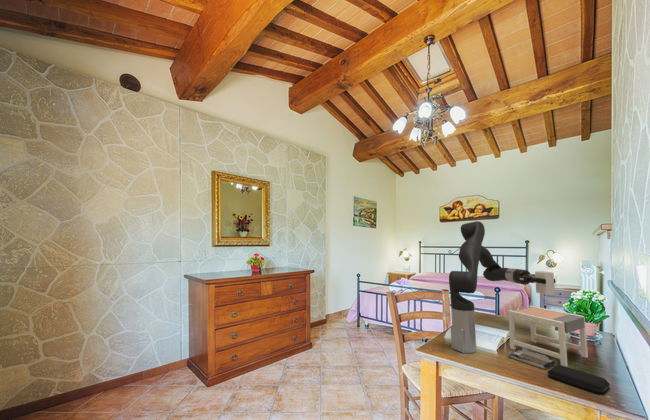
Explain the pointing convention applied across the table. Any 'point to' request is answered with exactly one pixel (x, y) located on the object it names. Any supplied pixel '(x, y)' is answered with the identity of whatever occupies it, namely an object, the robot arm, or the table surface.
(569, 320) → the trapdoor
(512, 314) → the trapdoor stand
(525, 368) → the table surface
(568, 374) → the carrying case or bag
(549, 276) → the plain beige rectangular block
